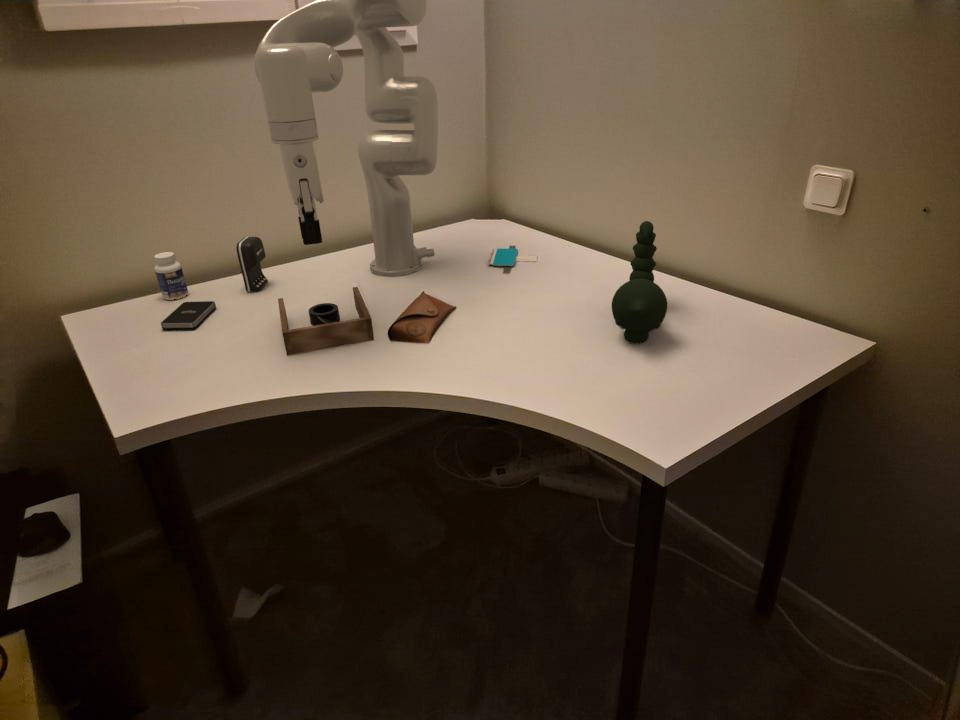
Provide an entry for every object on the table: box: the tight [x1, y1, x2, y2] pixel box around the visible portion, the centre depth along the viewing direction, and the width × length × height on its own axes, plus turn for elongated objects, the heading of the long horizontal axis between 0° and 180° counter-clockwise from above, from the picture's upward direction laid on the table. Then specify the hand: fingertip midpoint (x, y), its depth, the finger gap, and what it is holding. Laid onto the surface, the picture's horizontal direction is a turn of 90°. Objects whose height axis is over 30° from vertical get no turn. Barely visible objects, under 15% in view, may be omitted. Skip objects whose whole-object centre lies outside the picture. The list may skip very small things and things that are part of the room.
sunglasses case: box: [386, 290, 457, 345], centre depth 124 cm, size 18×7×7 cm
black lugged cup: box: [308, 302, 341, 326], centre depth 126 cm, size 8×10×3 cm
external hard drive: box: [160, 300, 217, 332], centre depth 129 cm, size 7×11×2 cm, turn 178°
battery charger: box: [236, 235, 269, 293], centre depth 141 cm, size 7×4×11 cm, turn 176°
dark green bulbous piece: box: [611, 220, 668, 345], centre depth 115 cm, size 10×19×26 cm
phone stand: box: [487, 245, 538, 274], centre depth 155 cm, size 20×12×2 cm, turn 173°
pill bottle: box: [154, 251, 189, 301], centre depth 139 cm, size 5×5×10 cm
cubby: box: [277, 286, 375, 356], centre depth 122 cm, size 16×17×4 cm
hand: (312, 239), depth 111 cm, fingers open, 2 cm apart
